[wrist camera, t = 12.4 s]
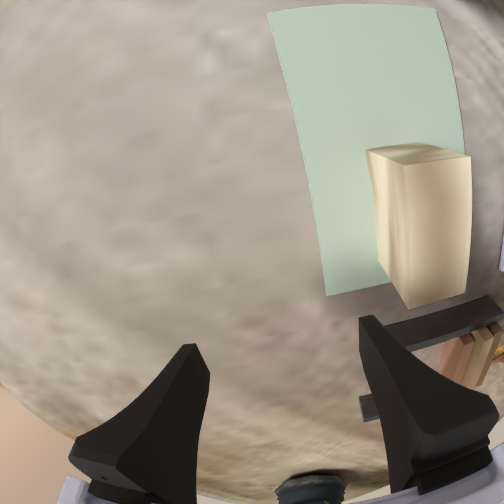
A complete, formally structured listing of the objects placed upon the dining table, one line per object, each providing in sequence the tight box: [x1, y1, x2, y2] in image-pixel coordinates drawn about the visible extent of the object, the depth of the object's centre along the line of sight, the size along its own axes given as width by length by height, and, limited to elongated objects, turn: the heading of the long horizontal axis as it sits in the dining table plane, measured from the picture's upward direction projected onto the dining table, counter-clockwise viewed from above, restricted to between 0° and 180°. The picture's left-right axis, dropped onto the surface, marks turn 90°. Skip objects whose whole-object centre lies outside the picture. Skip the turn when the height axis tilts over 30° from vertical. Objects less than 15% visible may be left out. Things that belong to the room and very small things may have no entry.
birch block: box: [365, 142, 472, 310], centre depth 16 cm, size 4×8×6 cm, turn 15°
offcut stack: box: [438, 322, 503, 390], centre depth 22 cm, size 4×8×4 cm, turn 14°
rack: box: [359, 295, 504, 422], centre depth 23 cm, size 14×11×3 cm
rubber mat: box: [266, 4, 465, 296], centre depth 17 cm, size 12×20×1 cm, turn 14°
